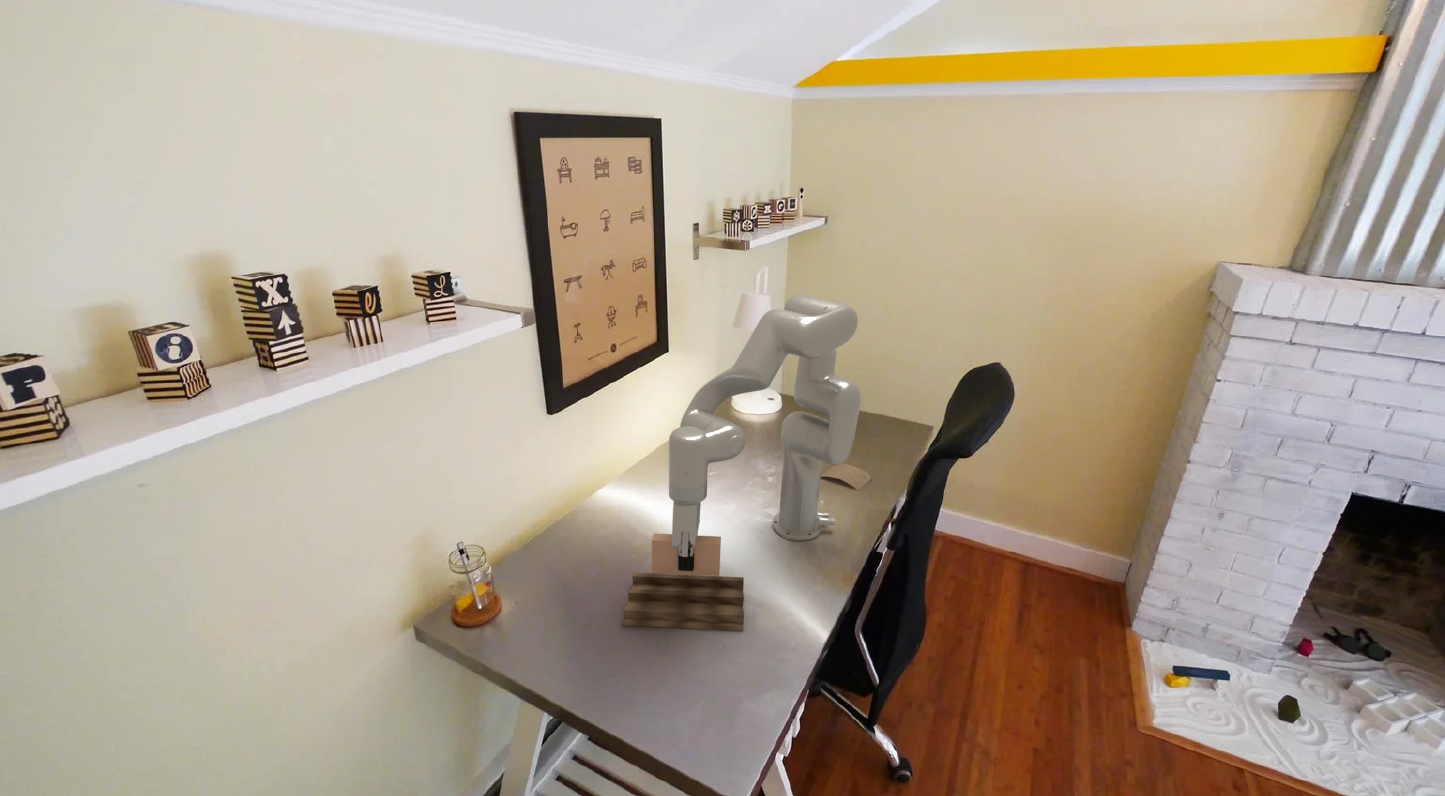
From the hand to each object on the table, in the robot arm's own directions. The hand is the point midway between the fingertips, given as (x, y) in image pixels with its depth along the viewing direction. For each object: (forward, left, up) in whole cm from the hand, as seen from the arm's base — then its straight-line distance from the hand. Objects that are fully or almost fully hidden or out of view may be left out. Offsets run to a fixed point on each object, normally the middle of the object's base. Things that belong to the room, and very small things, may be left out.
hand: (686, 564), depth 123 cm
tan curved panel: (-43, -56, -10) cm, 71 cm away
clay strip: (0, 0, -2) cm, 2 cm away
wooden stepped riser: (0, +2, -9) cm, 9 cm away
